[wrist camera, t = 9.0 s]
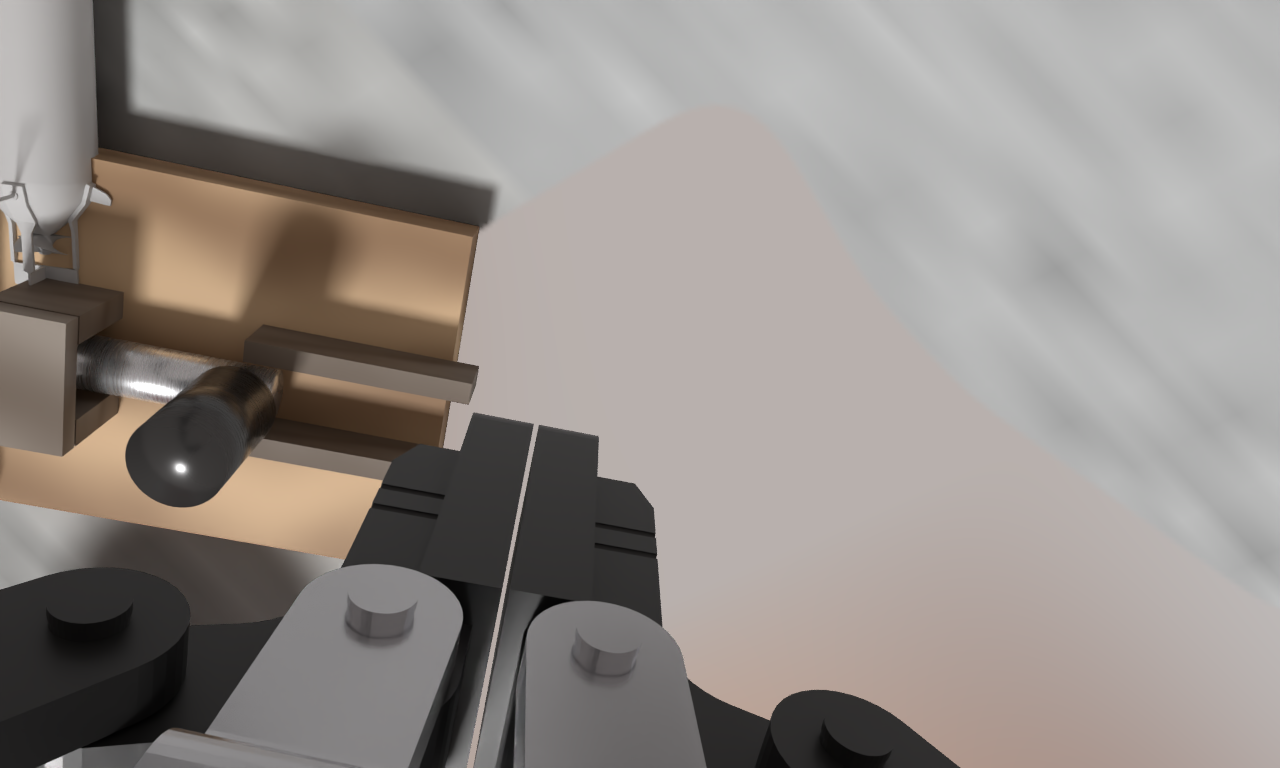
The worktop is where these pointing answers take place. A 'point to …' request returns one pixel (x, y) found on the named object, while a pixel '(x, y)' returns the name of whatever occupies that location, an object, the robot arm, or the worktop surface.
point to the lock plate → (237, 346)
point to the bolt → (183, 414)
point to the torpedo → (47, 128)
